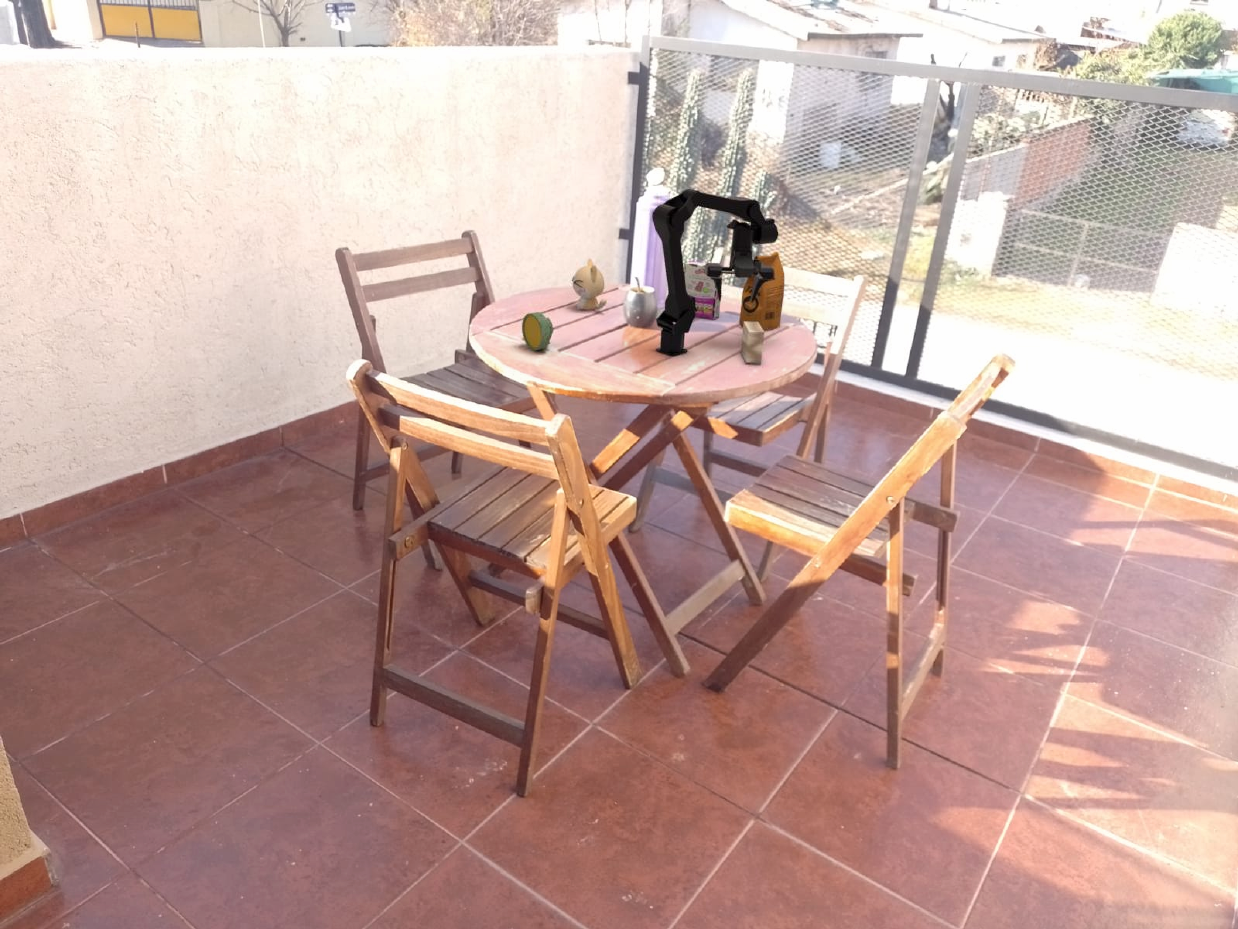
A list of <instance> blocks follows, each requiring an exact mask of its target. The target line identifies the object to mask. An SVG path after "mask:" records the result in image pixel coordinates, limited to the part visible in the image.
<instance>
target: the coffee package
mask: <svg viewBox="0 0 1238 929" xmlns="http://www.w3.org/2000/svg"><path fill="white" fill-rule="evenodd" d="M755 259H757V260H761V262H762V263H761V265H770V266H771V267H772V268H773V269H774V279H769V281H768V282H765V283H764V284H762V286H761V287H760V289H759V291H758V293H757V295H756V297H755V299H754V301H753V302H751V294H752V288H753V282H754V276H755V275H753V277H752V278H747V280H746V282H745V283H744V285H743V289H742V292H741V304H740V305H741V306H740V312H739V319H738V320H739V321H738V323H739V325H740V327H741V328H743V322H744V321H746V322H759V324H760V326H761V327H762V329H763V331H764V332H765V331H766V330H774V329H776V328H778V327H779V326H781V318H782V310H783V304H784V298H785V295H784V294H785V271H784V267H783V264H782V261H781V258H780V255H779V252H778V251H773V253H772V254H771V255H755V257H754V258H753V260H755Z"/></svg>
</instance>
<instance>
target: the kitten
mask: <svg viewBox="0 0 1238 929" xmlns="http://www.w3.org/2000/svg"><path fill="white" fill-rule="evenodd" d="M604 279H605V278H604V276H603V273H602V272H601V271H600V270H599V269H598V268H597V266H596V265H594V263H593V260H592V259H591V258H588V260H587V265H585V266H582V267H580V268H578V269H577V270H576V272H575V274H574V276H572V279H571V281H572V288H573V290H574V292H575V294H577V295H578V296H579V299H578V301H577V304H576V308H577V310H578V311H582V310H583V311H584V310H585V311H594V310H596V309H597V310H599V309H602V308H604V307H606V304H607V302H608V301H607V299H606V298H604V297H603V298H601V299H600V301H598V299H597V298H596V297H598V296H600V295H602V293H603V292H604V290H605V280H604Z"/></svg>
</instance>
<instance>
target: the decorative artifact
mask: <svg viewBox="0 0 1238 929" xmlns="http://www.w3.org/2000/svg"><path fill="white" fill-rule="evenodd" d="M554 329H555V327H554V326H553V323H552V321H551V319H550V318H549V317H546V316H545V315H544V314H543V313H542V312H539V311H537V312H536V311H535V312H530V313H527V314H525V315H524V317H523V319H522V322H521V331H522V332H521V333H522V337H523V340H524V342H525V344H526V346H527V347H528V348H529V349H530V350H531V351H539V350H541V351H542V350H545V349H546V348H548V346H549V345H550V344H551V339H552V335H553V333H554Z"/></svg>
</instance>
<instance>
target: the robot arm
mask: <svg viewBox="0 0 1238 929" xmlns="http://www.w3.org/2000/svg"><path fill="white" fill-rule="evenodd" d="M698 207H699V208H704V209H710V210H713V211H718V212H722V213H725V214H727V215H729V216H731V217H733V218H735V219H732V220H731V221H730V222H729V223H728V224H727V225H726V229H729V230H732V238H731V245H730V246H731V247H730V257H729V263H728V266H723V267H722V266H721V265H722V264H720V263H719V262H705V263H706V264H705V268H704V273H705V274H706V276H708V277H710V278H711V279H712V280H713V281H714V283H715V286H716V290H717V295H718V299H719V301H720V302H722V287H721V283H722V284H723V277H722V278H721V276H720V275H721V274H724V275H728V274H729V275H734V276H735V277H736V278H738V279H741V278H747V279H748V278H752V277H753V275H755V276H754V282H753V288H752V294H751V302H753V301H754V299H755V297H756V295H757V293H758V291H759V289H760V287H761V286H762V284H764V283H765V282H768V281H769V279H774V269H773V268H772V267H771V266H770V265H761V263H762V262H761V260H757V259H755V260H754V258H753V244H754V245H767V244H769V245H770V244H774V243H776V242H777V240H778V237H779V230H778V227H777V225H776V223H775V222H776V221H775V220H776V219H775V218H771V217H768V218H765V217H764V215H763V212H762V210H761V205H760V202H759V200H756V199H752V198H749V197H745V196H728V197H727V196H726V197H724V196H721V195H715V194H711V193H707V192H702V191H700V190H697V189H692V188H686V189H684V190H682V191H681V193H679V194H678V195H675V196H673V197H671V198H669V199H667V200H666V201H665V202H663V203H662V204H659V205H657V207H655V208H654V211H652V214H651V215H652V216H651V219H652V223H653V227H654V229H655V232H656V234H657V236H658V237H659V239H660V240H661V244H662V245H661V246H662V251H663V252H662V253H663V261H664V268H665V275H666V276H665V277H666V283H667V284H666V285H667V296H666V297H665V300H664V309H663V311H662V312H661V313H660V314H659V316H658V317H657V318H656V319H655V323H656V326H657V328H661V330H660V343H659V344H660V346H659V347H658V348H655V351H656V352H659V353H663V354H666V355H669V356H673V357H674V356H678V355H680V354H681V355H682V354H684V353H687V352H688V349H686V348H685V338H686V336H685V334H689V332H690V330H691V327H692V324H693V322H694V320H695V319H696V317H695V311H696V312H697V309H696V300H695V297H693V296H691V295H688V293H687V291H686V283H685V274H684V269H685V265H684V258H683V251H682V250H683V249H682V243H681V242H682V241H681V240H682V237H683V234H684V232H685V226H686V225H685V223H686V222H687V221H688V220H689V219H691V217H692V216H693V214H694V212H695V211H696V209H697V208H698ZM737 219H739V220H741V221H739V220H737ZM749 223H750V224H749Z"/></svg>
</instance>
